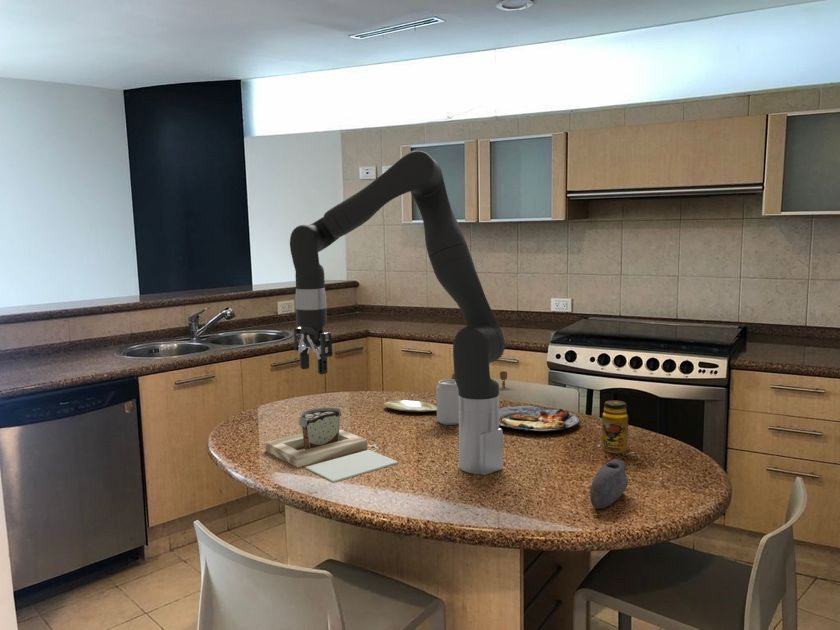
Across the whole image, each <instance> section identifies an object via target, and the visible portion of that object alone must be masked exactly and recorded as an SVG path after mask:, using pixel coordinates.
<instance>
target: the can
mask: <svg viewBox="0 0 840 630" xmlns="http://www.w3.org/2000/svg"><path fill="white" fill-rule="evenodd" d="M435 388H436V390H435V391H436V392H435V393H436V406H437V410H436V420H437V422H439V424H441V425H445V426H455V425H459V394H458V387H457V384H456V382H455V380H452V379H441V380H439V381H438V384H437V386H436V387H435Z"/></svg>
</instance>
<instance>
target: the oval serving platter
mask: <svg viewBox="0 0 840 630" xmlns="http://www.w3.org/2000/svg"><path fill="white" fill-rule="evenodd" d="M384 406H385V407H386V408H388V409H390V410H391V409H392V410H397V411H401V412H407V413H414V414H415V413H425V412H426V413H427V412H434V411H437V404H436V405H435V404H433V403H429V402H425V401H418V400H408V399H407V400H403V399H402V400H401V399H400V400H390V401H387V402H384Z"/></svg>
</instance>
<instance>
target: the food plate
mask: <svg viewBox="0 0 840 630" xmlns="http://www.w3.org/2000/svg"><path fill="white" fill-rule="evenodd" d="M580 422H581V419H580V418H579V416H578V415H577V414H574V413H573V412H570V411H568V410H564V409H562V408H553V407H545V406H533V405H519V406H518V405H515V406H506V407H502V408H500V407H499V426H502V427H506V428H510V429H514V430H515V429H516V430H525V431H526V432H528V431H536V432H556V431H565V430H566V429H567V430H568V429H571V428H573V427H575V426H576V425H578V424H580Z"/></svg>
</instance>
